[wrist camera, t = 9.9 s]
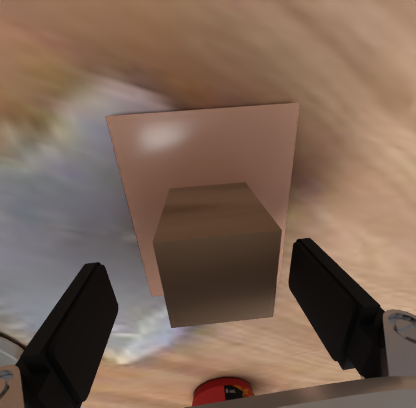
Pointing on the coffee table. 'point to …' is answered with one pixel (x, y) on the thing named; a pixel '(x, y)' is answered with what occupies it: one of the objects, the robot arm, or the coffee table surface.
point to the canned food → (221, 391)
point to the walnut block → (217, 255)
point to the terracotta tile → (203, 162)
